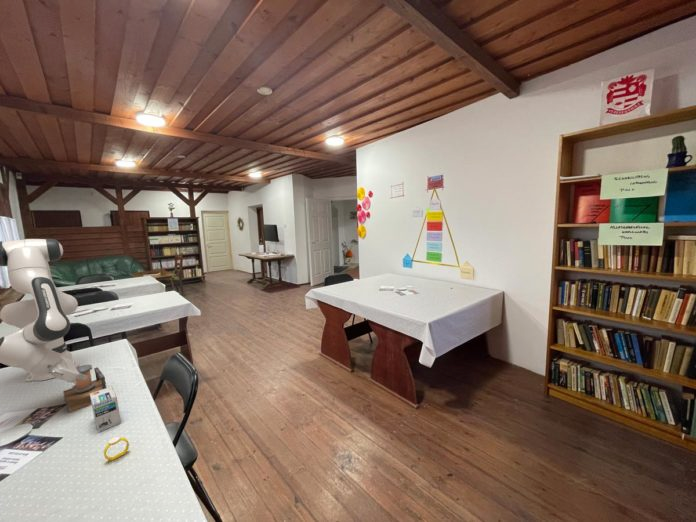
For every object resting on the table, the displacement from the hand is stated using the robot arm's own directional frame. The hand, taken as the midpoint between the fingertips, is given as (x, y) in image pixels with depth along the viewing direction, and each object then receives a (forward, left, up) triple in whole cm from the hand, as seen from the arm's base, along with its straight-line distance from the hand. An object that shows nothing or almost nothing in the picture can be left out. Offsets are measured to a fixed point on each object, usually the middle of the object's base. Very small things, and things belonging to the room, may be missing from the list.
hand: (84, 375), depth 120 cm
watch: (+50, -1, -11) cm, 51 cm away
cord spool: (0, -1, -6) cm, 6 cm away
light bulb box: (+26, +1, -11) cm, 28 cm away
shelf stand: (0, -1, -10) cm, 10 cm away
